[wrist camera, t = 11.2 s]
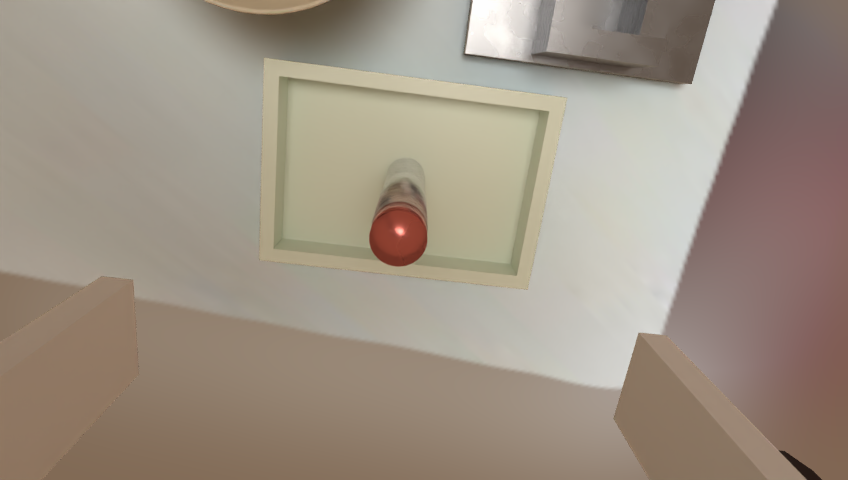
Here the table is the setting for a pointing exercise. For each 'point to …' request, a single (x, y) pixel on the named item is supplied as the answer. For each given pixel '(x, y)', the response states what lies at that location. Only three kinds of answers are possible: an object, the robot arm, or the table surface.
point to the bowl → (267, 5)
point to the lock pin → (400, 215)
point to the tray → (393, 139)
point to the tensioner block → (594, 35)
